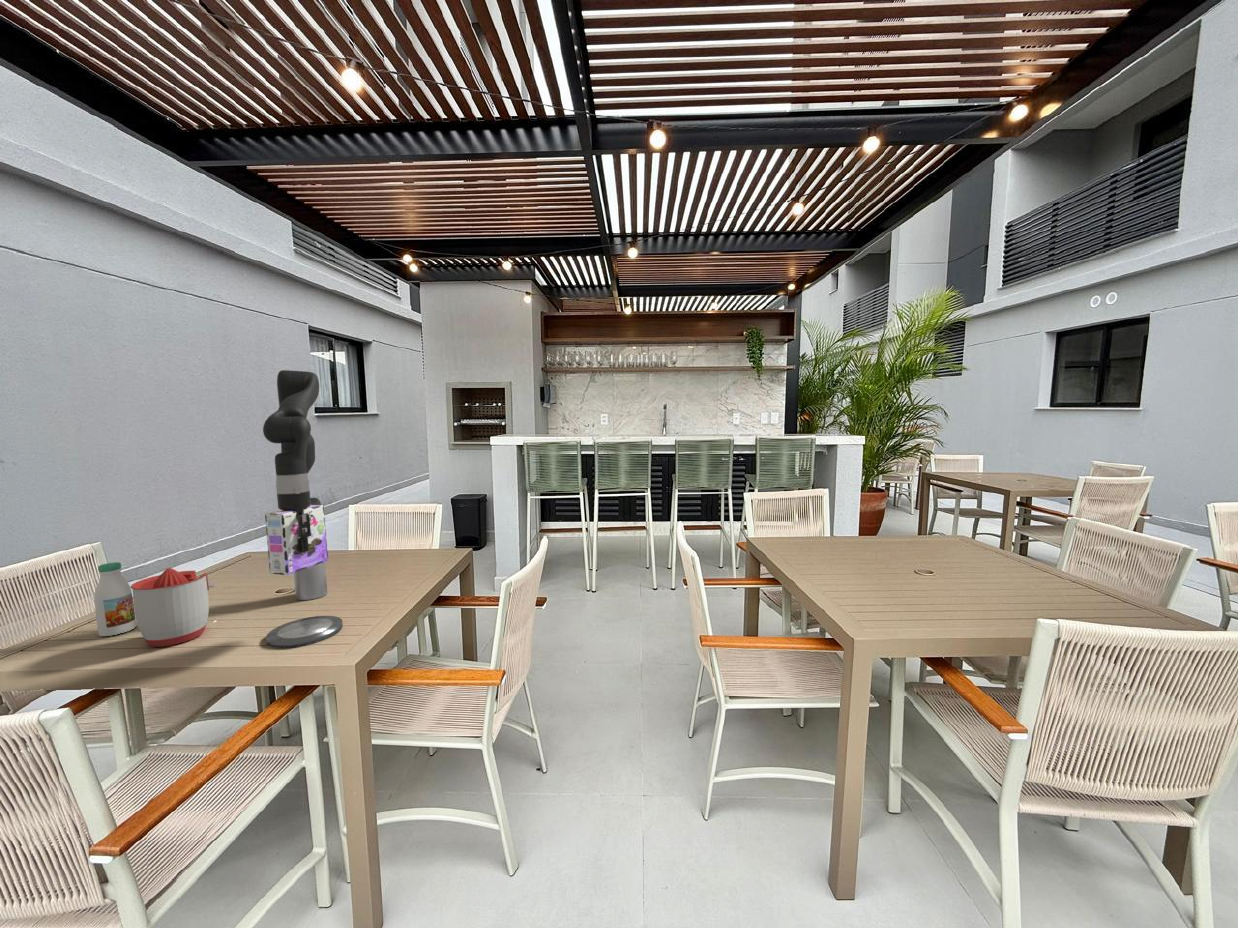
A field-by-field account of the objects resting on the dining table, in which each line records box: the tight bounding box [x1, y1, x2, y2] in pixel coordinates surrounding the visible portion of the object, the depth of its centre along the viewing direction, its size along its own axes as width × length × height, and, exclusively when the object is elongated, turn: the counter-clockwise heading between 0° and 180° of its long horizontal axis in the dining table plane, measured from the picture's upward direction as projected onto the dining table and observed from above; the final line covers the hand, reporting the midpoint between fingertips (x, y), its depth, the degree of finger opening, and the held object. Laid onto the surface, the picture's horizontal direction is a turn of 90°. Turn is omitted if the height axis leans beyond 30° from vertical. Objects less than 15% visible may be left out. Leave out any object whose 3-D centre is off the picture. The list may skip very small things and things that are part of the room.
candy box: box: [264, 504, 329, 576], centre depth 137 cm, size 14×6×16 cm, turn 166°
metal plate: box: [265, 615, 344, 649], centre depth 140 cm, size 18×18×2 cm
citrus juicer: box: [130, 567, 215, 648], centre depth 139 cm, size 16×17×20 cm
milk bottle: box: [93, 562, 137, 637], centre depth 143 cm, size 8×8×20 cm
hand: (298, 549), depth 138 cm, fingers closed on candy box, 7 cm apart
